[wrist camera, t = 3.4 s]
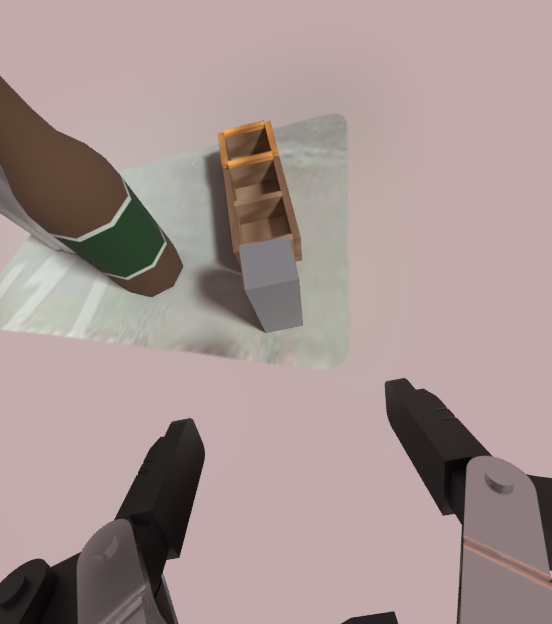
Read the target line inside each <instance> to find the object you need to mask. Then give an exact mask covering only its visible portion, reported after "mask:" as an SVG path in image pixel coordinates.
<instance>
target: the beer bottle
mask: <svg viewBox="0 0 552 624" xmlns="http://www.w3.org/2000/svg"><path fill="white" fill-rule="evenodd" d="M0 165H1V166H2V167H3V170H4V173H5V175H6V178H7V180H8V183H9V185H10V188H11V191H12V193H13V196H14V197H15V198H16V200H17V201H18V202H19V204H20V205H21V207H22V208H23V209H24V211H25V212H26V214H27V215H28V216H29V217H30V218H31V219H32V220H34V221H35V222H36V223H37V224H38V225H39V226H41V227H42V228H43V229H44V230H45V231H47V232H48V233H49V234H50V235H52V236H53V237H54V238H56V239H57V240H59V241H60V242H61V243H63V244H64V245H65V246H67V247H68V248H70V249H71V250H72V251H74V252H75V253H76V254H78V255H79V256H81V257H82V258H83V259H85V260H86V261H87V262H89V263H90V264H92V265H93V266H94V267H96V268H97V269H98V270H100V271H101V272H103V273H104V274H105V275H107V276H108V277H109V278H111V279H112V280H114V281H115V282H116V283H118V284H119V285H121V286H122V287H124V288H125V289H127V290H129V291H130V292H134V293H138V294H142V295H146V296H150V297H153V296H155V295H157V294H159V293H161V292H163V291H165V290H167V289H169V288H171V287H173V286H174V284H175V282H176V280H177V278H178V276H179V274H180V272H181V270H182V268H183V264H182V262H181V260H180V257H179V255H178V253H177V251H176V249H175V247H174V246H173V244H172V243H171V241H170V239H169V238H168V237H167V236H166V234H165V233H164V232H163V230H162V229H161V228H160V226H159V225H158V224H157V223H156V221H155V220H154V219H153V217H152V216H151V215H150V213H149V212H148V211H147V209H146V208H145V207H144V206H143V204H142V203H141V202H140V200H139V199H138V198H137V196H136V195H135V194H134V193H133V191H132V190H131V189H130V187H129V186H128V185H127V183H126V182H125V181H124V179H123V178H122V177H121V176H120V174H119V173H118V172H117V171H116V170H115V169H114V168H113V167H112V165H111V164H110V163H109V162H108V161H107V160H106V159H105V158H104V157H103V156H102V155H100V154H99V153H97V152H96V151H95V150H93V149H92V148H90V147H89V146H88V145H86V144H85V143H83V142H81V141H78V140H76V139H74V138H72V137H70V136H67V135H65V134H63V133H61V132H58V131H56V130H55V129H54V128H53V127H52V126H50V125H49V124H48V123H47V122H46V121H45V120H44V119H43V118H42V117H40V116H39V115H38V114H37V113H36V112H35V111H34V110H32V109H31V108H30V106H28V104H27V103H26V102H25V101H24V100H23V99H22V98H21V97H20V96H19V95H18V94H17V93H16V92H15V91H14V90H13V89H12V88H11V87H10V86H9V85H8V84H7V83H6V82H5V80H4V79H3V78H2V77H1V76H0Z"/></svg>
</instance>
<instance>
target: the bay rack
mask: <svg viewBox="0 0 552 624" xmlns="http://www.w3.org/2000/svg"><path fill="white" fill-rule="evenodd" d="M218 139H219V148H220V156H221V164H222V168H223V174H224V182H225V190H226V198H227V206H228V214H229V222H230V231H231V239H232V247H233V253H234V255H235V258H236V260H237V262H238V264H239V266H240V269H241V271H242V266H241V259H240V252H239V247H241V246H245V245H250V244H254V243H259V242H263V241H268V240H272V239H277V238H281V237H286V236H289V240H290V244H291V248H292V252H293V256H294V261H295V262H296V261H300V260H302V251H301V237H300V233H299V229H298V226H297V222H296V218H295V214H294V211H293V207H292V203H291V199H290V196H289V192H288V188H287V184H286V180H285V177H284V173H283V169H282V165H281V162H280V158H279V153H278V148H277V145H276V141H275V137H274V133H273V130H272V126H271V122H270V121H267V122H264V121H260V122H256V123H251V124H247V125H243V126H239V127H235V128H231V129H227V130H224V131H223V132H222V133H219V134H218Z"/></svg>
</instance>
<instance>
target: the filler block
mask: <svg viewBox="0 0 552 624" xmlns="http://www.w3.org/2000/svg"><path fill="white" fill-rule="evenodd" d="M239 252H240V259H241V266H242V274H243V281H244V289H245V292H246V294H247V296H248V298H249V300H250V302H251V304H252V306H253V308H254V310H255V312H256V314H257V316H258V318H259V320H260V322H261V324H262V326H263V328H264V330H265V332H266V333H268V332H273V331H278V330H283V329H287V328H292V327H297V326H302V325H303V320H302V309H301V297H300V285H299V277H298V273H297V269H296V265H295V261H294V256H293V252H292V248H291V244H290V240H289V236H286V237H281V238H277V239H272V240H268V241H263V242H259V243H254V244H250V245H245V246H241V247H239Z"/></svg>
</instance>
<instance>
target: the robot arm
mask: <svg viewBox="0 0 552 624" xmlns="http://www.w3.org/2000/svg"><path fill="white" fill-rule="evenodd" d="M0 213H1V214H3V215H4V216H5V217H7V218H8V219H10V220H11V221H13V222H14V223H16V224H17V225H19V226H20V227H22V228H23V229H24V230H26V231H28V232H29V233H30V234H32V235H33V236H35V237H36V238H38V239H39V240H41V241H42V242H44V243H45V244H47V245H48V246H49V247H51V248H52V249H54V250H55V251H59V250H64V251H66V252H68V253H73V254H76V253H75V252H74V251H72V250H71V249H70V248H68V247H67V246H65V245H64V244H63V243H61V242H60V241H59V240H57V239H56V238H54V237H53V236H52V235H50V234H49V233H48V232H47V231H45V230H44V229H43V228H42V227H41V226H39V225H38V224H37V223H36V222H35V221H34V220H32V219H31V218H30V217H29V216H28V215H27V214H26V212H25V211H24V209H23V208H22V207H21V205H20V204H19V202H18V201H17V200H16V198H15V197H14V196H13V193H12V191H11V188H10V185H9V183H8V180H7V178H6V175H5V173H4V170H3V167H2V166H1V165H0ZM385 396H386V409H387V416H388V419H389V422H390V425H391V427H392V429H393V430H394V432H395V433H396V436H397V437H398V439H399V441H400V443H401V444H402V446H403V448H404V449H405V451H406V453H407V455H408V456H409V458H410V460H411V461H412V463H413V465H414V467H415V468H416V470H417V472H418V474H419V475H420V477H421V478H422V480H423V482H424V484H425V486H426V487H427V489H428V490H429V492H430V494H431V496H432V498H433V499H434V501H435V503H436V504H437V506H438V508H439V510H440V511H441V513H442V515H443V516H444V515H450V514H455V515H456V516H457V518H458V519H459V521H460V523H461V524H462V536H461V554H460V573H459V593H458V609H457V624H552V578H551V575H550V570H551V571H552V478H546V477H538V476H532V475H527V474H525V473H524V472H523V471H521V470H520V469H519V468H517V467H516V466H514V465H512V464H511V463H509V462H507V461H505V460H502V459H499V458H496V457H493V456H492V455H491V454H490V453H489V452H488V451H487V450H486V449H485V448H484V447H483V446H482V445H481V443H480V442H479V441H478V440H477V439H476V438H475V437H474V436H473V435H472V434H471V433H470V432H469V430H467V428H466V427H465V426H464V425H463V424H462V423H461V422H460V421H459V420H458V419H457V418H455V416H454V414H453V413H452V412H451V411H450V410H449V409H447V407H446V406H445V405H444V404H443V402H442V401H441V400H440V399H439V398H438V397H437V396H435V395H434V394H432V393H430V392H428V391H427V390H425V389H419V390H416V389H415V388H414V387H413V386H412V385H411V383H410V382H409V381H408V380H407V379H405V378H402V379H397V380H392V381H386V382H385ZM204 458H205V450H204V445H203V442H202V440H201V437H200V435H199V433H198V430H197V428H196V426H195V423H194V421H193V419H191V418H188V419H183V420H178V421H173V422H172V423H171V424H170V426H169V428H168V430H167V432H166V435H165V436H164V437H160V438H159V439H158V440H157V441H156V443H155V444H154V445H153V446H152V447H151V448H150V450H149V452H148V454H147V456H146V458H145V460H144V463H143V464H142V466H141V468H140V470H139V472H138V475H137V476H136V478H135V480H134V482H133V484H132V485H131V488H130V489H129V491H128V493H127V496H126V498H125V500H124V501H123V503H122V505H121V507H120V509H119V511H118V513H117V515H116V518H115V519H114V521H112V522H110V523H108V524H106V525H105V526H103V527H102V528H101V529H99V530H98V531H97V532H96V533H95V534H94V535H93V536H92V537H91V538H90V540H89V541H88V542H87V544H86V545H85V547H84V548H83V550H82V552H80V553H78V554H76V555H74V556H72V557H70V558H68V559H66V560H64V561H62V562H60V563H58V564H56V565H54V566H52V567H50V566H49V565H48V564H47V563H46V562H45V561H44V560H43V559H34V560H31V561H28V562H26V563H25V564H23V565H21V566H19V567H18V568H17V569H15V570H14V571H13V572H11V573H10V574H9V575H8V576H7V577H6V578H5V579H4V580H3V581H2V582H1V583H0V624H178V620H177V617H176V614H175V610H174V607H173V604H172V600H171V597H170V594H169V590H168V587H167V584H166V580H165V577H164V575H163V569H164V566H165V563H166V560H169V559H175V558H179V557H180V553H181V549H182V545H183V541H184V538H185V534H186V529H187V526H188V522H189V518H190V514H191V511H192V507H193V503H194V499H195V495H196V491H197V487H198V483H199V479H200V475H201V472H202V468H203V464H204ZM342 624H398V622H397V619H396V616H395V612H387V613H380V614H374V615H367V616H361V617H353V618H350V619H348V620H347V621H345V622H343V623H342Z"/></svg>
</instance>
